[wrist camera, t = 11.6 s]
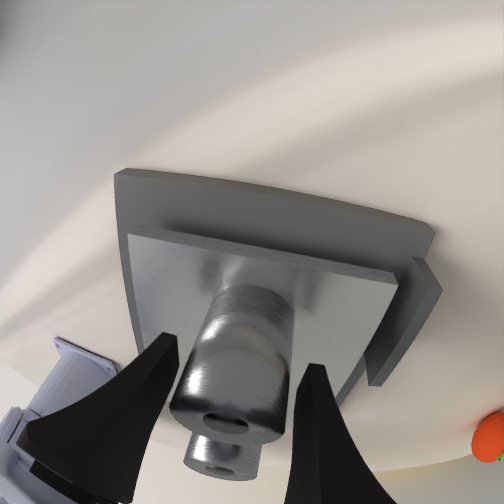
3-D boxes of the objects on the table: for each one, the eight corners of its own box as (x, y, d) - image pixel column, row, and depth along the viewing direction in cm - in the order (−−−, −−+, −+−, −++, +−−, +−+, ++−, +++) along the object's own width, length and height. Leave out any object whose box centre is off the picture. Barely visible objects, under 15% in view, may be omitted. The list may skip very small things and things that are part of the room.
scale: (330, 410, 22) (330, 447, 18) (151, 373, 23) (135, 406, 20) (430, 223, 13) (461, 261, 9) (126, 168, 14) (82, 190, 11)
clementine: (483, 406, 20) (497, 454, 14) (521, 391, 19) (536, 434, 13) (459, 435, 24) (467, 477, 18) (495, 422, 23) (505, 461, 17)
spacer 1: (287, 352, 14) (276, 451, 9) (210, 340, 14) (177, 432, 10) (301, 291, 12) (295, 407, 7) (208, 278, 12) (159, 381, 8)
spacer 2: (265, 413, 17) (253, 485, 13) (207, 403, 18) (187, 472, 13) (272, 382, 15) (260, 467, 11) (205, 371, 16) (178, 451, 11)
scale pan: (312, 412, 20) (311, 430, 18) (163, 381, 20) (156, 398, 19) (389, 264, 12) (398, 285, 11) (144, 218, 13) (127, 233, 12)
